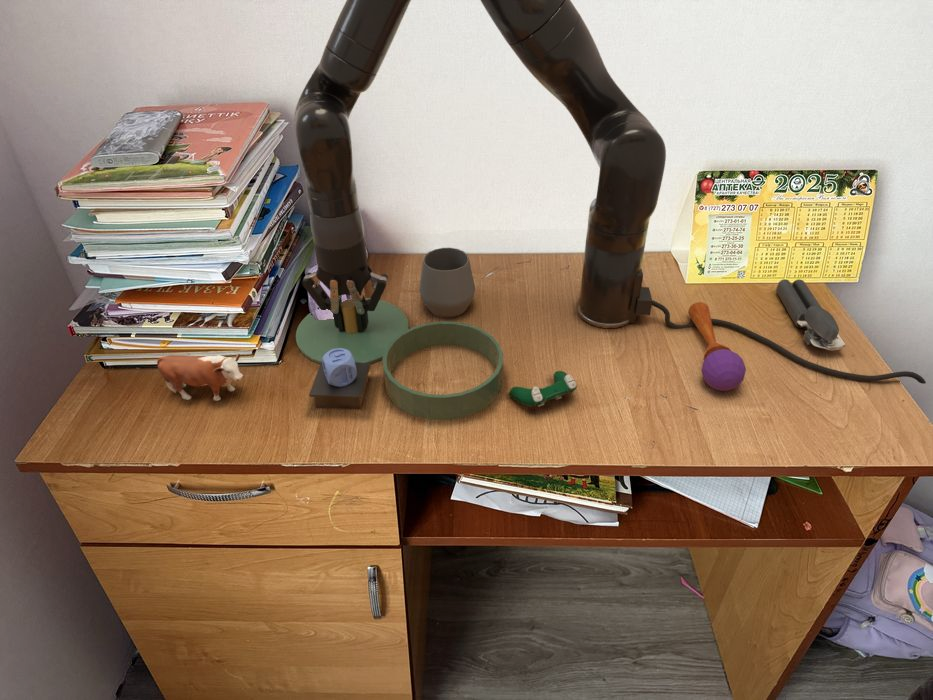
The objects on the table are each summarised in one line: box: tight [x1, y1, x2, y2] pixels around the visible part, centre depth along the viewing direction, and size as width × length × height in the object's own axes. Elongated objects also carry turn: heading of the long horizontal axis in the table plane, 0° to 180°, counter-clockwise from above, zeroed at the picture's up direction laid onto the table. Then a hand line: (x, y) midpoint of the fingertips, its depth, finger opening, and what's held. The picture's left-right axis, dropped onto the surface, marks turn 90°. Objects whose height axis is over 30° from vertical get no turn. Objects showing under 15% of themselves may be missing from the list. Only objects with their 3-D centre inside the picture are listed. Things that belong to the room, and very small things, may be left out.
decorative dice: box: [322, 348, 357, 387], centre depth 96 cm, size 4×4×4 cm
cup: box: [418, 247, 476, 319], centre depth 113 cm, size 10×9×10 cm
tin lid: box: [295, 297, 410, 365], centre depth 109 cm, size 18×18×6 cm
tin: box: [381, 320, 504, 421], centre depth 100 cm, size 18×18×5 cm
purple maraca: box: [687, 301, 747, 392], centre depth 104 cm, size 6×6×20 cm
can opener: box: [775, 278, 846, 351], centre depth 109 cm, size 19×5×6 cm, turn 178°
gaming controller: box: [508, 370, 578, 408], centre depth 97 cm, size 9×4×6 cm
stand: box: [309, 362, 372, 410], centre depth 98 cm, size 8×8×4 cm
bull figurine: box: [156, 353, 245, 402], centre depth 97 cm, size 4×13×8 cm, turn 78°
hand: (352, 328), depth 110 cm, fingers closed on tin lid, 2 cm apart
